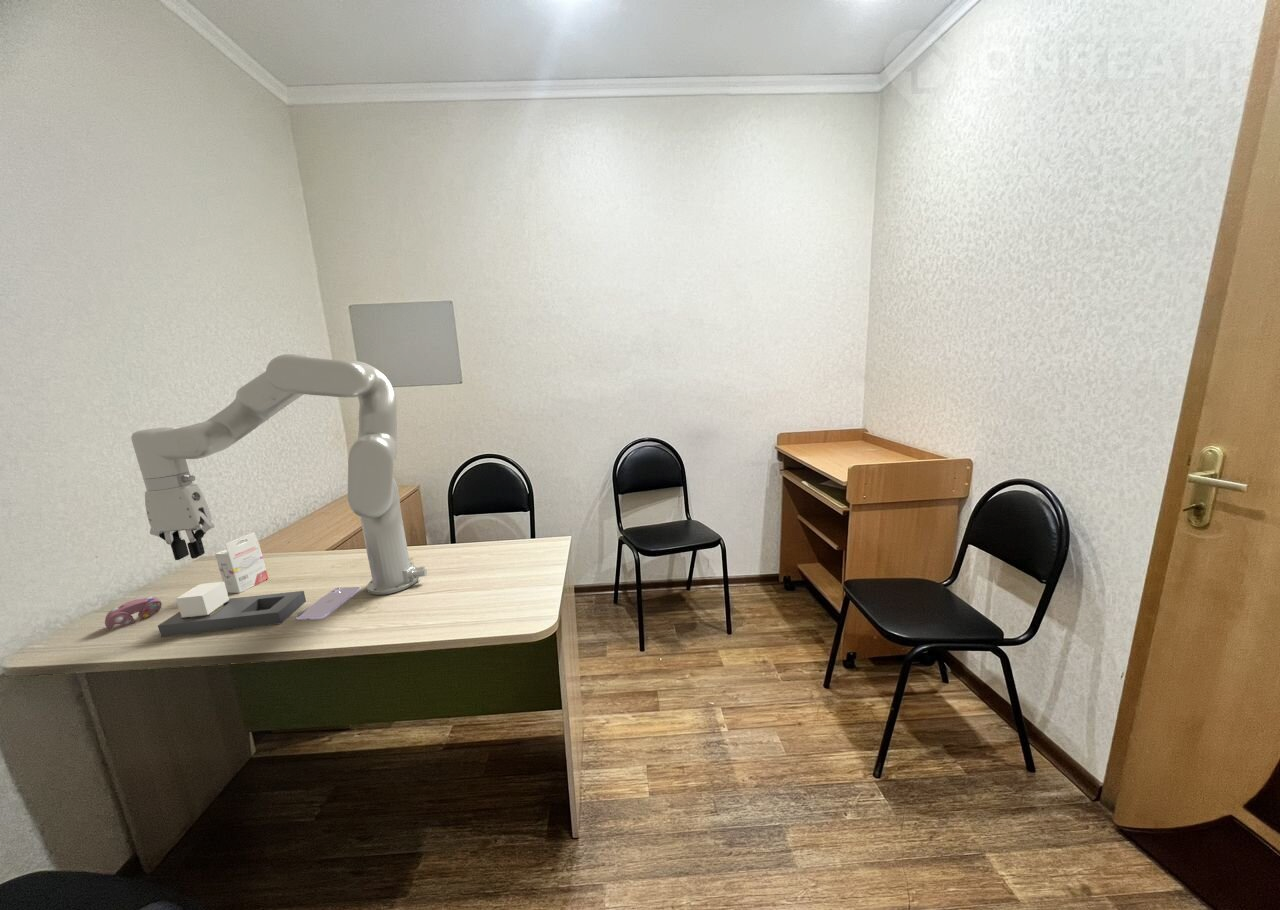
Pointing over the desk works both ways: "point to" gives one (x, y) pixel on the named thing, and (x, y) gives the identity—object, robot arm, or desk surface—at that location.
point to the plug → (203, 600)
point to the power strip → (237, 614)
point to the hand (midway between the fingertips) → (190, 556)
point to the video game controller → (132, 611)
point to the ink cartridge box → (241, 564)
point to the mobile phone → (328, 603)
